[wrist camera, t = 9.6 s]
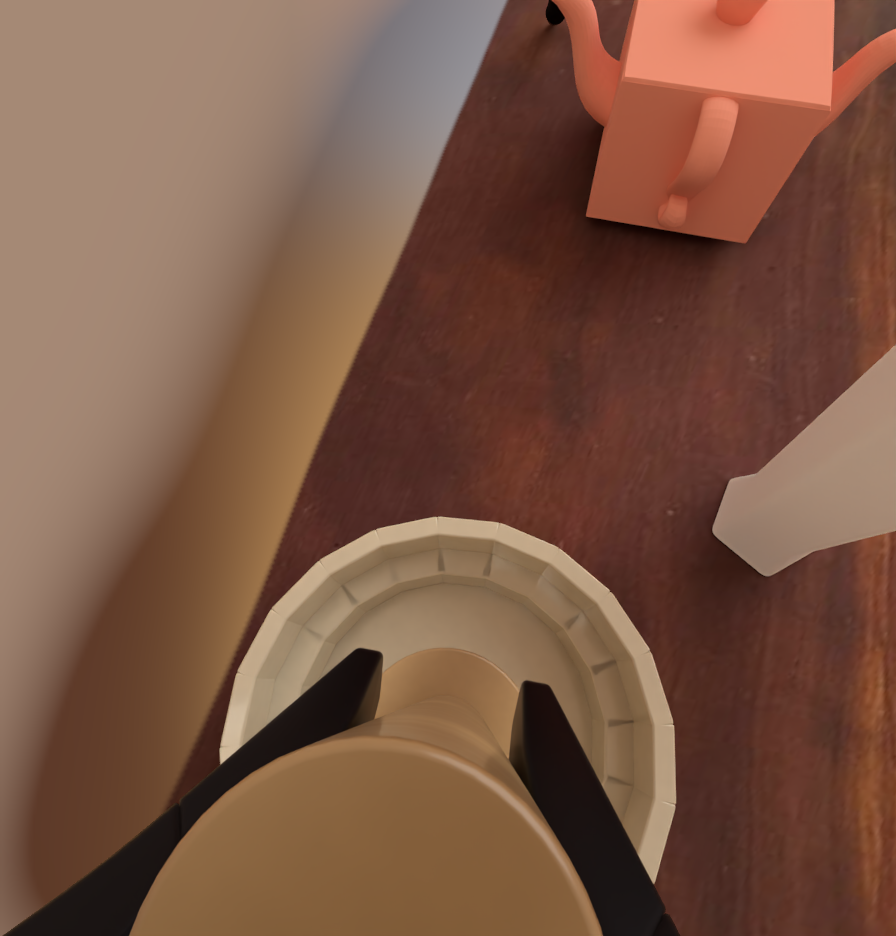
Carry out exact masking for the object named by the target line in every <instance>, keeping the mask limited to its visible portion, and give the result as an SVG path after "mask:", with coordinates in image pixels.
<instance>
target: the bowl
mask: <svg viewBox="0 0 896 936" xmlns="http://www.w3.org/2000/svg"><path fill="white" fill-rule="evenodd" d="M357 648H366V649H371V650H376V651H380V652H381V653H382V654H383V668H382V673H383V672H384V671H385V670H386V669H388V668H389V667H390V666H392V665H393V664H394V663H396V662H397V661H399V660H401V659H402V658H404V657H406V656H408V655H411V654H413V653H416V652H418V651H422V650H426V649H432V648H456V649H462V650H466V651H470V652H473V653H476V654H478V655H480V656H482V657H484V658H486V659H488V660H489V661H491V662H493V663H494V664H496V665H497V666H498V667H499V668H501V669H502V670H503V671H504V672H505V673H506V674H507V675H508V676H509V677H510V678H511V679H512V680H513V681H514V683H515V684H516V685H517V687H518V688H519V690H520V687H521V684H522V682H523V681H525V680H530V681H535V682H540V683H545V684H548V685H549V686H550V687H551V689H552V690H553V692H554V694H555V696H556V698H557V700H558V702H559V704H560V706H561V708H562V710H563V712H564V713H565V715H566V717H567V719H568V721H569V723H570V725H571V727H572V729H573V731H574V733H575V735H576V736H577V738H578V740H579V742H580V744H581V746H582V748H583V750H584V752H585V754H586V756H587V758H588V760H589V761H590V763H591V765H592V767H593V769H594V771H595V773H596V775H597V777H598V779H599V781H600V783H601V785H602V786H603V788H604V790H605V792H606V794H607V796H608V798H609V800H610V802H611V804H612V806H613V808H614V810H615V811H616V813H617V815H618V817H619V819H620V821H621V823H622V825H623V827H624V829H625V831H626V833H627V835H628V836H629V838H630V840H631V842H632V844H633V846H634V848H635V850H636V852H637V854H638V856H639V858H640V860H641V861H642V863H643V865H644V867H645V869H646V871H647V873H648V875H649V877H650V879H651V881H652V883H653V885H654V883H655V880H656V877H657V873H658V870H659V866H660V862H661V859H662V855H663V852H664V848H665V844H666V841H667V837H668V833H669V830H670V826H671V823H672V819H673V815H674V812H675V804H676V772H675V731H674V725H673V719H672V715H671V712H670V709H669V706H668V703H667V700H666V697H665V693H664V690H663V687H662V684H661V681H660V678H659V674H658V671H657V668H656V665H655V662H654V659H653V656H652V653H651V652H649V651H650V649H649V647H648V646H647V644H646V643H645V641H644V640H643V638H642V637H641V635H640V634H639V632H638V631H637V629H636V628H635V626H634V625H633V623H632V622H631V620H630V619H629V617H628V616H627V614H626V613H625V611H624V610H623V608H622V607H621V605H620V604H619V602H618V601H617V599H616V598H615V596H614V595H613V593H611V592H610V590H609V589H608V588H607V587H606V586H604V585H603V584H602V583H601V582H600V581H598V580H597V579H596V578H595V577H594V576H592V575H591V574H590V573H589V572H588V571H586V570H585V569H584V568H583V567H582V566H580V565H579V564H578V563H577V562H576V561H574V560H573V559H572V558H571V557H570V556H568V555H567V554H566V553H565V552H564V551H562V550H561V549H558V547H557V546H554V545H552V544H550V543H547V542H545V541H543V540H540V539H538V538H536V537H533V536H531V535H528V534H526V533H524V532H521V531H519V530H517V529H514V528H512V527H510V526H507V525H505V524H503V523H498V522H490V521H480V520H470V519H460V518H450V517H440V516H439V517H431V518H426V519H421V520H416V521H412V522H407V523H402V524H397V525H392V526H388V527H383V528H378V529H376V530H373V531H371V532H369V533H367V534H365V535H364V536H362V537H360V538H358V539H356V540H355V541H353V542H351V543H349V544H347V545H345V546H344V547H342V548H340V549H338V550H336V551H335V552H333V553H331V554H329V555H327V556H325V557H324V558H322V559H320V562H319V561H318V562H316V563H315V564H314V565H313V567H312V568H311V569H310V570H309V571H308V572H307V573H306V574H305V575H304V576H303V577H302V578H301V579H300V580H299V581H298V582H297V583H296V584H295V585H294V586H293V587H292V588H291V589H290V590H289V591H288V592H287V593H286V594H285V595H284V596H283V597H282V598H281V599H280V600H279V601H278V602H277V603H276V604H275V605H274V606H273V607H272V610H270V611H269V613H268V615H267V617H266V619H265V621H264V622H263V624H262V626H261V628H260V630H259V632H258V633H257V635H256V637H255V639H254V641H253V643H252V645H251V646H250V648H249V650H248V652H247V654H246V656H245V657H244V659H243V661H242V663H241V665H240V667H239V669H238V671H237V672H238V673H237V674H236V676H235V681H234V685H233V690H232V694H231V699H230V703H229V708H228V712H227V717H226V721H225V726H224V730H223V735H222V739H221V744H220V746H221V748H220V749H219V750H220V764H222V763H223V762H224V761H225V760H226V759H227V758H229V757H230V756H231V755H232V754H233V753H234V752H236V751H237V750H238V749H239V748H240V747H241V746H243V745H244V744H245V743H246V742H247V741H248V740H250V739H251V738H252V737H253V736H254V735H255V734H257V733H258V732H259V731H260V730H261V729H263V728H264V727H265V726H266V725H267V724H268V723H270V722H271V721H272V720H273V719H274V718H275V717H277V716H278V715H279V714H280V713H281V712H282V711H284V710H285V709H286V708H287V707H288V706H289V705H291V704H292V703H293V702H294V701H295V700H296V699H298V698H299V697H300V696H301V695H302V694H303V693H305V692H306V691H307V690H308V689H309V688H310V687H312V686H313V685H314V684H315V683H316V682H317V681H319V680H320V679H321V678H322V677H323V676H324V675H326V674H327V673H328V672H329V671H330V670H331V669H333V668H334V667H335V666H336V665H337V664H338V663H340V662H341V661H342V660H343V659H344V658H345V657H347V656H348V655H349V654H350V653H351V652H352V651H354V650H355V649H357Z"/></svg>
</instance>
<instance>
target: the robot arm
mask: <svg viewBox="0 0 896 936" xmlns="http://www.w3.org/2000/svg"><path fill="white" fill-rule="evenodd" d="M382 668H383V654H382V653H381V652H380V651H376V650H371V649H366V648H357V649H355V650H354V651H352V652H351V653H350V654H349V655H348V656H347V657H345V658H344V659H343V660H342V661H341V662H340V663H338V664H337V665H336V666H335V667H334V668H333V669H331V670H330V671H329V672H328V673H327V674H326V675H324V676H323V677H322V678H321V679H320V680H319V681H317V682H316V683H315V684H314V685H313V686H312V687H310V688H309V689H308V690H307V691H306V692H305V693H303V694H302V695H301V696H300V697H299V698H298V699H296V700H295V701H294V702H293V703H292V704H291V705H289V706H288V707H287V708H286V709H285V710H284V711H282V712H281V713H280V714H279V715H278V716H277V717H275V718H274V719H273V720H272V721H271V722H270V723H268V724H267V725H266V726H265V727H264V728H263V729H261V730H260V731H259V732H258V733H257V734H255V735H254V736H253V737H252V738H251V739H250V740H248V741H247V742H246V743H245V744H244V745H243V746H241V747H240V748H239V749H238V750H237V751H236V752H234V753H233V754H232V755H231V756H230V757H229V758H227V759H226V760H225V761H224V762H223V763H222V764H220V765H219V766H218V767H217V768H216V769H215V770H213V771H212V772H211V773H210V774H209V775H208V776H206V777H205V778H204V779H203V780H202V781H201V782H199V783H198V784H197V785H196V786H195V787H194V788H192V789H191V790H190V791H189V792H188V793H187V794H185V795H184V796H183V797H182V798H181V799H180V806H179V804H178V803H175V804H173V805H172V806H171V807H170V808H169V809H167V810H166V811H165V812H164V813H163V814H162V815H160V816H159V817H158V818H157V819H156V820H155V821H153V822H152V823H151V824H150V825H149V826H147V827H146V828H145V829H144V830H143V831H141V832H140V833H139V834H138V835H136V836H135V837H134V838H133V839H132V840H130V841H129V842H128V843H127V844H125V845H124V846H123V847H122V848H121V849H119V850H118V851H117V852H116V853H115V854H113V855H112V856H111V857H110V858H108V859H107V860H105V861H104V862H103V863H101V864H100V865H99V866H97V867H96V868H95V869H93V870H92V871H91V872H89V873H88V874H87V875H85V876H84V877H83V878H81V879H80V880H79V881H77V882H76V883H75V884H73V885H72V886H71V887H70V888H68V889H67V890H65V891H64V892H63V893H61V894H60V895H59V896H57V897H56V898H55V899H53V900H52V901H50V902H49V903H47V904H46V905H45V906H43V907H42V908H40V909H39V910H38V911H36V912H35V913H34V914H32V915H31V916H30V917H28V918H27V919H25V920H24V921H22V922H21V923H20V924H18V925H17V926H15V927H14V928H13V929H11V930H10V931H9V932H7V933H6V934H4V935H3V936H129V935H130V932H131V930H132V927H133V925H134V922H135V920H136V917H137V915H138V912H139V910H140V907H141V905H142V904H143V902H144V900H145V898H146V896H147V894H148V892H149V890H150V888H151V886H152V884H153V882H154V881H155V879H156V877H157V875H158V873H159V872H160V870H161V869H162V867H163V866H164V864H165V863H166V861H167V860H168V858H169V857H170V855H171V854H172V852H173V851H174V849H175V848H176V846H177V844H178V843H179V842H180V841H181V839H182V838H183V837H184V836H185V835H186V833H187V832H188V831H189V830H190V829H191V827H192V826H193V825H194V824H195V823H196V821H197V820H198V819H199V818H200V817H201V816H202V815H203V814H204V813H205V812H206V811H207V810H208V809H209V808H210V807H211V806H212V805H213V804H214V803H215V802H216V801H217V800H218V799H219V798H220V797H221V796H222V795H223V794H224V793H226V792H227V791H228V790H230V789H231V788H232V787H234V786H235V785H236V784H238V783H239V782H240V781H242V780H243V779H244V778H245V777H247V776H248V775H249V774H251V773H252V772H254V771H256V770H258V769H259V768H261V767H263V766H265V765H266V764H268V763H270V762H272V761H273V760H275V759H277V758H278V757H281V756H283V755H286V754H288V753H291V752H293V751H295V750H298V749H300V748H303V747H305V746H308V745H310V744H313V743H315V742H318V741H320V740H323V739H325V738H328V737H331V736H333V735H336V734H338V733H341V732H343V731H346V730H348V729H351V728H353V727H356V726H359V725H361V724H364V723H366V722H369V721H371V720H374V718H375V715H376V711H377V707H378V703H379V698H380V691H381V680H382ZM509 761H510V763H511V764H512V766H513V768H514V769H515V771H516V773H517V774H518V776H519V777H520V779H521V781H522V782H523V784H524V785H525V787H526V789H527V790H528V792H529V794H530V795H531V797H532V798H533V800H534V802H535V803H536V805H537V806H538V808H539V810H540V811H541V813H542V815H543V816H544V818H545V819H546V821H547V823H548V824H549V826H550V828H551V829H552V831H553V832H554V834H555V836H556V837H557V839H558V840H559V842H560V844H561V845H562V847H563V849H564V850H565V852H566V853H567V855H568V857H569V858H570V860H571V862H572V864H573V866H574V868H575V870H576V872H577V874H578V875H579V877H580V879H581V881H582V883H583V885H584V887H585V889H586V891H587V893H588V896H589V898H590V901H591V904H592V906H593V909H594V911H595V914H596V916H597V919H598V921H599V924H600V926H601V930H602V934H603V936H680V934H679V932H678V930H677V928H676V926H675V924H674V922H673V921H672V919H671V917H670V915H668V914H664V913H665V910H666V909H665V906H664V904H663V902H662V900H661V898H660V896H659V894H658V892H657V890H656V888H655V886H654V885H653V883H652V881H651V879H650V877H649V875H648V873H647V871H646V869H645V867H644V865H643V863H642V861H641V860H640V858H639V856H638V854H637V852H636V850H635V848H634V846H633V844H632V842H631V840H630V838H629V836H628V835H627V833H626V831H625V829H624V827H623V825H622V823H621V821H620V819H619V817H618V815H617V813H616V811H615V810H614V808H613V806H612V804H611V802H610V800H609V798H608V796H607V794H606V792H605V790H604V788H603V786H602V785H601V783H600V781H599V779H598V777H597V775H596V773H595V771H594V769H593V767H592V765H591V763H590V761H589V760H588V758H587V756H586V754H585V752H584V750H583V748H582V746H581V744H580V742H579V740H578V738H577V736H576V735H575V733H574V731H573V729H572V727H571V725H570V723H569V721H568V719H567V717H566V715H565V713H564V712H563V710H562V708H561V706H560V704H559V702H558V700H557V698H556V696H555V694H554V692H553V690H552V689H551V687H550V686H549V685H548V684H545V683H540V682H535V681H530V680H525V681H523V682H522V684H521V687H520V691H519V696H518V700H517V705H516V709H515V714H514V718H513V724H512V731H511V740H510V751H509Z"/></svg>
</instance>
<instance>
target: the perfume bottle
mask: <svg viewBox="0 0 896 936" xmlns="http://www.w3.org/2000/svg"><path fill="white" fill-rule="evenodd" d="M712 531H713V534H714V535H715V536H716V537H717V538H718V539H719V540H720V541H722V542H723V543H724V544H725V545H726V546H728V547H729V548H730V549H731V550H732V551H734V552H735V553H736V554H737V555H739V556H740V557H741V558H742V559H743V560H745V561H746V562H747V563H748V564H750V565H751V566H752V567H753V568H754V569H756V570H757V571H758V572H759V573H760V574H762V575H764V576H771V575H773V574H775V573H777V572H779V571H780V570H782V569H784V568H786V567H787V566H789V565H791V564H793V563H794V562H796V561H798V560H800V559H801V558H803V557H805V556H807V555H808V554H810V553H812V552H814V551H817V550H821V549H825V548H829V547H833V546H837V545H841V544H845V543H849V542H853V541H857V540H861V539H865V538H869V537H873V536H877V535H881V534H885V533H889V532H893V531H896V345H895V346H894V347H893V348H892V349H891V350H889V351H888V352H887V353H886V354H885V355H884V356H883V357H882V358H881V359H880V360H879V361H878V362H877V363H875V364H874V365H873V366H872V367H871V368H870V369H869V370H868V371H867V372H866V373H865V374H864V375H863V376H861V377H860V378H859V379H858V380H857V381H856V382H855V383H854V384H853V385H852V386H851V387H850V388H849V389H847V390H846V391H845V392H844V393H843V394H842V395H841V396H840V397H839V398H838V399H837V400H836V401H835V402H833V403H832V404H831V405H830V406H829V407H828V408H827V409H826V410H825V411H824V412H823V413H822V414H821V415H819V416H818V417H817V418H816V419H815V420H814V421H813V422H812V423H811V424H810V425H809V426H808V427H807V428H805V429H804V430H803V431H802V432H801V433H800V434H799V435H798V436H797V437H796V438H795V439H794V440H793V441H791V442H790V443H789V444H788V445H787V446H786V447H785V448H784V449H783V450H782V451H781V452H780V453H779V454H777V455H776V456H775V457H774V458H773V459H772V460H771V461H770V462H769V463H768V464H767V465H766V466H764V467H763V468H762V469H761V470H760V471H759V472H758V473H757V474H753V475H748V476H742V477H737V478H733V479H731V480H730V481H729V483H728V485H727V488H726V491H725V494H724V496H723V499H722V502H721V505H720V508H719V510H718V513H717V516H716V519H715V522H714V524H713V528H712Z"/></svg>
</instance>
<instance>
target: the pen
mask: <svg viewBox="0 0 896 936" xmlns="http://www.w3.org/2000/svg"><path fill="white" fill-rule="evenodd" d="M546 18H547V20H548V23H549V24H550V25H552V26H555V25H557V24H560V23H561V22H562V21H563V20H564V18H565V17H564V15H563V14H562V12H561V10H560V9H559V7H558V6H557V5H556V4H555V3H554V2H553V1H552V0H549V3H548V6H547V9H546Z"/></svg>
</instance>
